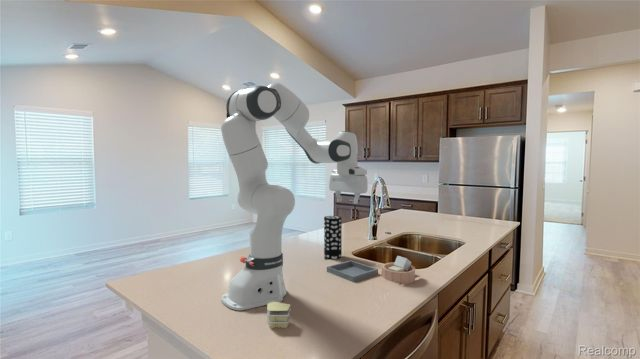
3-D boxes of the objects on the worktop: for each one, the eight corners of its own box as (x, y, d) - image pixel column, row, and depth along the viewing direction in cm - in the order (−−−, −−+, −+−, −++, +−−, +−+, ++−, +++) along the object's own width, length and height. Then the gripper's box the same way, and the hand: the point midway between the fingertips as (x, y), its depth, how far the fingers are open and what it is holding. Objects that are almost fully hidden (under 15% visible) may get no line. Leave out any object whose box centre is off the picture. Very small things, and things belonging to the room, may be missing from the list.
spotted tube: (335, 262, 154) (334, 219, 152) (320, 259, 159) (320, 217, 157) (344, 257, 160) (344, 216, 159) (330, 255, 165) (330, 215, 164)
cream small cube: (396, 280, 128) (396, 270, 128) (388, 277, 131) (388, 267, 131) (404, 278, 131) (404, 268, 130) (395, 275, 134) (395, 265, 134)
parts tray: (353, 284, 126) (353, 277, 126) (326, 273, 138) (326, 266, 138) (378, 275, 135) (378, 269, 135) (350, 266, 147) (350, 260, 147)
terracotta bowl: (401, 286, 123) (401, 275, 123) (375, 277, 133) (375, 266, 133) (421, 279, 131) (421, 267, 131) (395, 270, 141) (395, 260, 141)
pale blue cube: (403, 267, 130) (406, 258, 132) (393, 264, 134) (397, 255, 135) (407, 271, 133) (411, 262, 134) (398, 268, 136) (402, 259, 138)
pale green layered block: (298, 318, 100) (298, 300, 99) (291, 334, 91) (290, 314, 91) (266, 316, 101) (266, 299, 101) (256, 331, 92) (255, 312, 92)
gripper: (325, 169, 147) (325, 201, 148) (359, 170, 131) (359, 205, 132) (336, 169, 151) (336, 199, 152) (370, 170, 135) (369, 204, 136)
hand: (347, 202), depth 142 cm, fingers open, 8 cm apart
